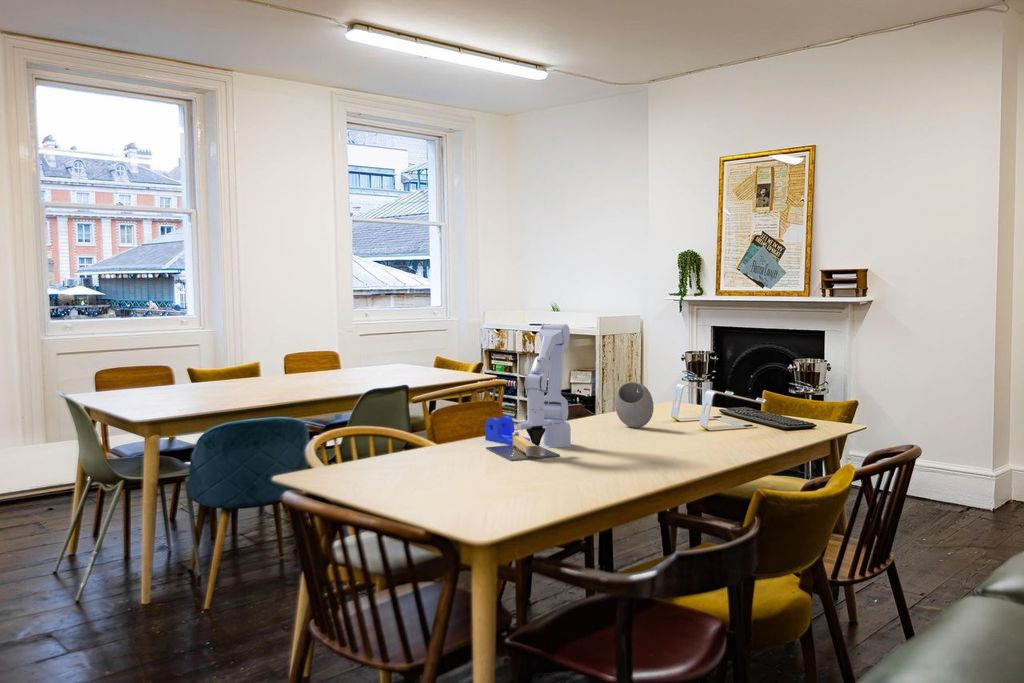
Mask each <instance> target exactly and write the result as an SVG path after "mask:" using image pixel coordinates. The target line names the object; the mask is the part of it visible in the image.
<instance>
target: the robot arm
mask: <svg viewBox="0 0 1024 683" xmlns="http://www.w3.org/2000/svg"><path fill="white" fill-rule="evenodd" d="M538 334H539V335H538V336H539V338H540V341H541V343H540V348H539V354H538V356H536V357H535V358H534V359H533V362H532V366H531V369H530V371H529V373H528V374H527V375H525V378H524V383H523V384H524V389H525V395H526V396H527V398H526V399H527V400H526V401H527V402H526V404H527V406H526V407H527V408H526V409H527V410H526V412H527V413H526V414H527V419H526V421H524V422H520V423H517V424H516V426H517V427H516V428H517V429H516V430H517V431H524V430H526V432H527V434H528V436H529V438H530V442H531V443H533V444H535V445H536V446H538V445H539V446H540V447H543V448H546V449H555V448H556V449H557V448H564V447H567V448H568V447H572V446H573V445H572V443H571V441H572V440H571V434H572V433H571V430H572V429H571V425H570V423H569V421H567V420H568V417H569V403H568V402H569V401H568V400H567V399H566V397H564V396H563V395H562V385H563V384H562V383H563V382H562V381H563V371H564V370H563V369H564V358H565V357H564V356H565V350H566V349H568V348H569V344H570V338H571V337H570V336H571V330H570V327H569V326H568V324H567V323H565V324H563V323H562V324H561V323H559V324H557V323H556V324H555V323H554V324H552V323H542V324H541V325H540V326H539V332H538ZM546 389H547V394H546V395H545V391H546ZM542 438H543V440H542ZM541 441H543V442H541Z"/></svg>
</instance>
